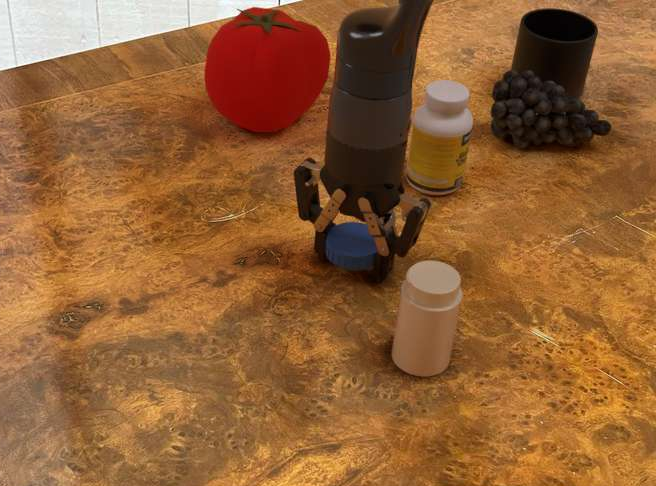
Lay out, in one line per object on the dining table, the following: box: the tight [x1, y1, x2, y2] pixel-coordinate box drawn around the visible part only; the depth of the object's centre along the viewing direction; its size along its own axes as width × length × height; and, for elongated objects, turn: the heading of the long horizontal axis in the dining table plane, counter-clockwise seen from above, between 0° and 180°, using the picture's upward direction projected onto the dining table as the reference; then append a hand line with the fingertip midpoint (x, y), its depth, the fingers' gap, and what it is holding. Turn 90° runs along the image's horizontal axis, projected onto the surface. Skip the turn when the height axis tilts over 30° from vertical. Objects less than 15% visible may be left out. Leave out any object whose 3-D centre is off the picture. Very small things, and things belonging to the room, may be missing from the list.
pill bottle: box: [405, 79, 474, 196], centre depth 117 cm, size 6×6×12 cm
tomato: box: [204, 6, 331, 133], centre depth 126 cm, size 16×14×14 cm
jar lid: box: [325, 221, 378, 272], centre depth 107 cm, size 6×6×2 cm
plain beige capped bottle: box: [391, 260, 464, 378], centre depth 96 cm, size 5×5×10 cm
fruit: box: [485, 69, 612, 150], centre depth 125 cm, size 9×8×15 cm
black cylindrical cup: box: [510, 7, 599, 100], centre depth 136 cm, size 9×12×9 cm
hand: (352, 266), depth 109 cm, fingers closed on jar lid, 5 cm apart
